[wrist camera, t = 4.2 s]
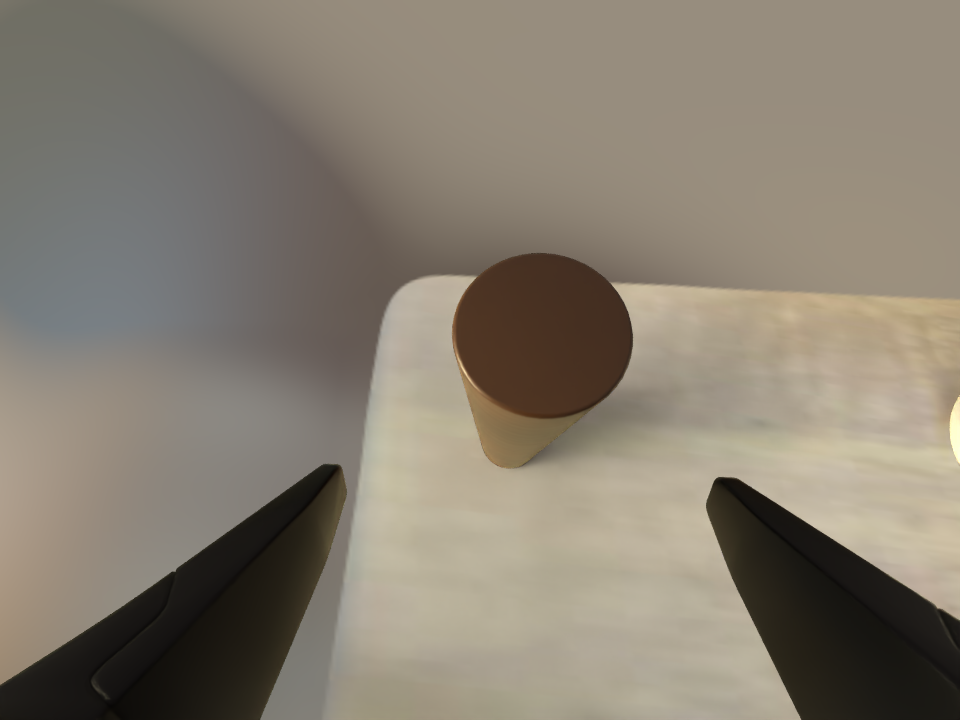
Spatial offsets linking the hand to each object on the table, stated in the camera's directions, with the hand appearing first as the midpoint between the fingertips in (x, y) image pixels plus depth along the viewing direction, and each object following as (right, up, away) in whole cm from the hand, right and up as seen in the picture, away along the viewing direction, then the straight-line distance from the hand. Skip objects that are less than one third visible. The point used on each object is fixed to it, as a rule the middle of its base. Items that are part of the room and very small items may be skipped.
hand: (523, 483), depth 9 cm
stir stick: (0, -1, +10) cm, 10 cm away
